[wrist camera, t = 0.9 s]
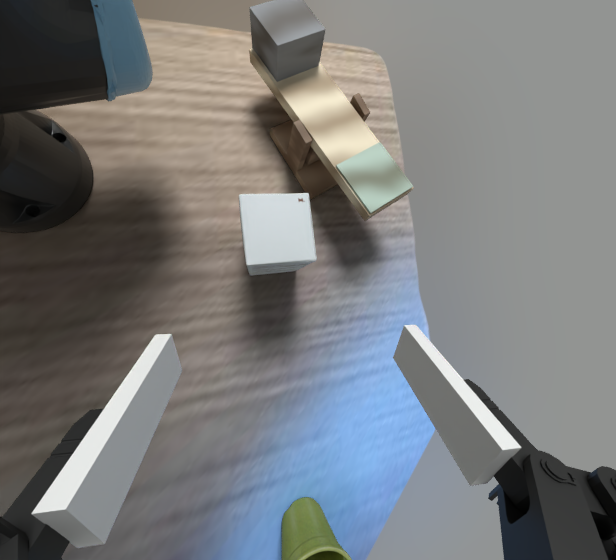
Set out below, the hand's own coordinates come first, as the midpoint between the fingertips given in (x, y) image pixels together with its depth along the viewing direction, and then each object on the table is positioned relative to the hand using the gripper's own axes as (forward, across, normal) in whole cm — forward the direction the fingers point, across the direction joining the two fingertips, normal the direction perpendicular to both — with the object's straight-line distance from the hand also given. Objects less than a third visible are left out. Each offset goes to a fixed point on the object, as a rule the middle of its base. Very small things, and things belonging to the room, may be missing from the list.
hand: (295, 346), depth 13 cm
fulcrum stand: (+33, +6, +11) cm, 35 cm away
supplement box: (+23, -2, -3) cm, 24 cm away
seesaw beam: (+28, +6, +14) cm, 32 cm away
